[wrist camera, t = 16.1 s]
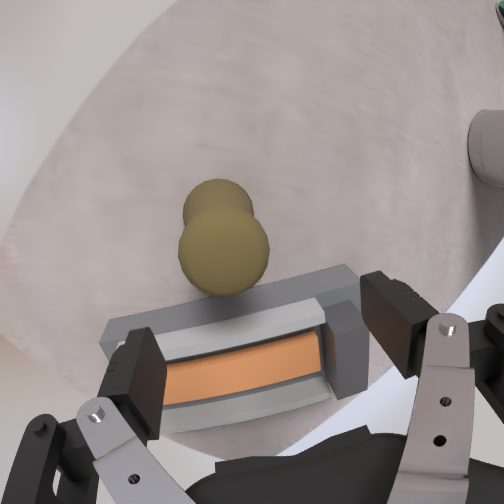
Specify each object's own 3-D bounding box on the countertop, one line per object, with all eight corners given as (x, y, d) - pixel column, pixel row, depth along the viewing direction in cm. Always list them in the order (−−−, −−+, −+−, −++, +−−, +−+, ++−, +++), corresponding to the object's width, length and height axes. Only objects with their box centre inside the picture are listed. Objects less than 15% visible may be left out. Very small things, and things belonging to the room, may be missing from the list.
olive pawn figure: (262, 188, 26) (297, 222, 16) (242, 254, 28) (263, 321, 18) (192, 171, 25) (181, 193, 15) (176, 239, 27) (159, 301, 17)
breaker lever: (313, 330, 27) (317, 338, 26) (317, 362, 28) (321, 370, 27) (132, 370, 26) (130, 378, 25) (148, 398, 28) (147, 407, 26)
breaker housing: (344, 263, 30) (384, 302, 22) (349, 348, 34) (378, 394, 27) (109, 319, 29) (86, 371, 21) (149, 395, 33) (141, 448, 25)
